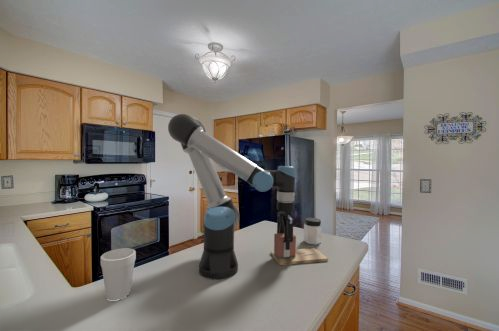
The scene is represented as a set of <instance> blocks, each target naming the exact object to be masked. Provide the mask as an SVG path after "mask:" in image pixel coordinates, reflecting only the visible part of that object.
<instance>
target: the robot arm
mask: <svg viewBox="0 0 499 331" xmlns="http://www.w3.org/2000/svg"><path fill="white" fill-rule="evenodd" d="M167 130H168V133H169V136H170V137H171V139H173V140H175V141H176V142H178V143H180V146H181V148H182V151H183V152H184V153H186V154H188V156H189V158H190V160H191V163H192V166H193V168H194V171H195V173H196V176H197V178H198V181H199V184H200V186H201V188H202V191H203V193H204V196H205V198H206V200H207V202H208V204H207V207H206V211H205V213H204V216H203V251H202V254H201V256H200V257H201V258H200V261H199V262H198V273H199V275H200V276H202V277H204V278H206V279H209V280H223V279H224V280H225V279H227V278H230V277H232V276H235V275H236V274H237V272H238V270H239V262H238V259H237V256H236V252H235V245H234V244H235V230H236V229H237V226H238V225H239V222H240V212H239V210H238V208H237V206H235V205H234V202H233V200H232V197H230V196H228V195H227V193H226V191H225V188H224V186H223V184H222V181H221V179H220V177H219V174H218V172H217V169H216V167H215V164H214V162H216V163H217V164H219V165H220V166H222V167H223V168H225V169H226V170H228V171H230V172H231V173H233V174H234V175H235V176H237V177H239V178H240V179H242V180H243V181H245V182H247V183H248V184H249V185H250V186H251V187H253V188H254V189H255V190H257V191H258V192H262V193H263V192H264V193H265V192H268V191H269V190H271V188H277V190H276V200H277V201H276V210H277V212H276V215H277V218H276V219H277V220H276V222H277V223H276V224H277V226H276V234H278V233H284V239H285V241H283V242H284V245H283V257H290V242H293V234H294V224H295V222H294V221H295V219H294V218H292V214H291V212H293V211H295V202H294V201H295V196H296V193H295V190H296V189H295V188H296V187H295V186H296V169H295V167H294V166H292V165H291V166H290V165H278V166H277V169H273V170H271V169H263V168H262V167H260V166H259V165H257V164H256V163H254V162H253V161H251V160H249V159H248V158H246V157H245V156H243V155H242V154H240V153H239V152H237V151H235V150H234V149H232V148H231V147H229V146H228V145H226V144H224V143H223V142H222V141H220V140H218V139H217V138H215V137H213V136H212V135H210V134H209V133H208V132H207V131H206V128H205V125H203V124H202V122H201V121H199V120H197V118H194V117H192V116H190V115H188V114H185V113H180V114H176V115H174V116H173V117H172V118H170V120H169V122H168V125H167Z"/></svg>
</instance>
